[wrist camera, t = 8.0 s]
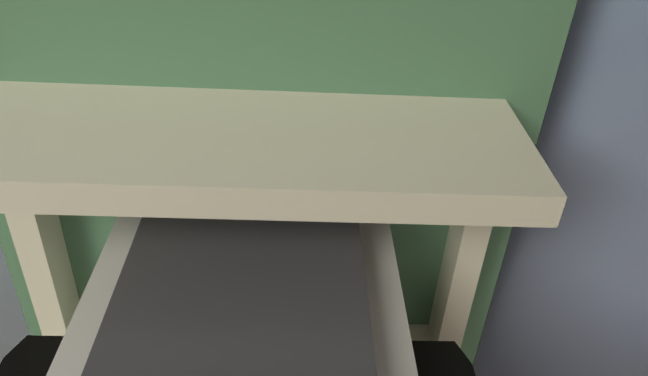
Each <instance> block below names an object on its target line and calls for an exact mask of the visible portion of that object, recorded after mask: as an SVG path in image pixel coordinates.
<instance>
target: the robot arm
mask: <svg viewBox="0 0 648 376" xmlns="http://www.w3.org/2000/svg"><path fill="white" fill-rule="evenodd" d="M141 218H142V217H117V219H116V221H115V223H114V225H113V228H112V230H111V232H110V234H109V236H108V239H107V241H106V243H105V245H104V248H103V250H102V252H101V254H100V256H99V259H98V261H97V263H96V265H95V268H94V270H93V272H92V274H91V277H90V279H89V281H88V283H87V285H86V288H85V290H84V292H83V294H82V297H81V299H80V301H79V303H78V306H77V308H76V310H75V312H74V314H73V317H72V319H71V321H70V323H69V326H68V328H67V330H66V332H65V335H64V336H37V335H27V336H26V337H25V338H24V339H23V340H22V341H21V342H20V343H19V344H18V345H17V346H16V347H15V348H13V349H12V350H11V351H10V352H9V353H8V354H7V355H6V356H5V357H4V358H3V360H2V362H1V364H0V376H81V374H82V372H83V369H84V366H85V364H86V361H87V359H88V356H89V353H90V351H91V348H92V346H93V343H94V340H95V338H96V335H97V333H98V330H99V327H100V325H101V322H102V320H103V317H104V314H105V312H106V309H107V307H108V304H109V301H110V299H111V296H112V294H113V291H114V288H115V286H116V283H117V281H118V278H119V275H120V273H121V270H122V268H123V265H124V262H125V260H126V257H127V255H128V252H129V249H130V247H131V244H132V242H133V239H134V236H135V234H136V231H137V229H138V226H139V223H140V221H141ZM359 225H360V234H361V242H362V251H363V260H364V268H365V277H366V285H367V294H368V302H369V311H370V319H371V328H372V336H373V345H374V354H375V362H376V371H377V376H475V373H474V369H473V366H472V363H471V362H470V360H469V359H468V358H467V357H466V355H465V354H464V353H463V351H462V350H461V349H460V348H459V346H458V345H457V344H456V342H455V341H412V340H411V335H410V330H409V324H408V319H407V314H406V308H405V303H404V298H403V293H402V287H401V282H400V277H399V271H398V266H397V261H396V255H395V250H394V245H393V239H392V234H391V229H390V224H386V223H359Z"/></svg>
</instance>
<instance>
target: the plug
mask: <svg viewBox="0 0 648 376" xmlns="http://www.w3.org/2000/svg"><path fill="white" fill-rule="evenodd" d="M81 376H377V371H376V362H375V354H374V345H373V336H372V328H371V319H370V311H369V302H368V294H367V285H366V277H365V268H364V260H363V251H362V242H361V234H360V225H359V223H347V222H309V221H270V220H232V219H193V218H155V217H142V218H141V221H140V223H139V226H138V229H137V231H136V234H135V236H134V239H133V242H132V244H131V247H130V249H129V252H128V255H127V257H126V260H125V262H124V265H123V268H122V270H121V273H120V275H119V278H118V281H117V283H116V286H115V288H114V291H113V294H112V296H111V299H110V301H109V304H108V307H107V309H106V312H105V314H104V317H103V320H102V322H101V325H100V327H99V330H98V333H97V335H96V338H95V340H94V343H93V346H92V348H91V351H90V353H89V356H88V359H87V361H86V364H85V366H84V369H83V372H82V374H81Z"/></svg>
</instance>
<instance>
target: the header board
mask: <svg viewBox="0 0 648 376" xmlns="http://www.w3.org/2000/svg"><path fill="white" fill-rule="evenodd" d="M577 1H578V0H0V243H1V246H2V249H3V252H4V256H5V259H6V262H7V265H8V268H9V271H10V274H11V277H12V280H13V283H14V286H15V289H16V292H17V295H18V298H19V301H20V305H21V308H22V311H23V314H24V317H25V320H26V323H27V326H28V329H29V332H30V335H37V336H64V335H65V332H66V330H67V328H68V326H69V323H70V321H71V319H72V317H73V314H74V312H75V310H76V308H77V306H78V303H79V301H80V299H81V297H82V294H83V292H84V290H85V288H86V285H87V283H88V281H89V279H90V277H91V274H92V272H93V270H94V268H95V265H96V263H97V261H98V259H99V256H100V254H101V252H102V250H103V248H104V245H105V243H106V241H107V239H108V236H109V234H110V232H111V230H112V228H113V225H114V223H115V221H116V219H117V217H155V218H193V219H232V220H270V221H309V222H347V223H386V224H390V229H391V234H392V239H393V245H394V250H395V255H396V261H397V266H398V271H399V277H400V282H401V287H402V293H403V298H404V303H405V308H406V314H407V319H408V324H409V330H410V335H411V340H412V341H455V342H456V344H457V345H458V346H459V348H460V349H461V350H462V351H463V353H464V354H465V355H466V357H467V358H468V359H469V360H470V362H471V363H472V366H473V362H474V359H475V355H476V352H477V349H478V345H479V342H480V338H481V335H482V331H483V328H484V324H485V321H486V317H487V314H488V310H489V307H490V303H491V300H492V296H493V293H494V289H495V286H496V282H497V279H498V275H499V272H500V269H501V265H502V262H503V258H504V255H505V251H506V248H507V244H508V241H509V237H510V234H511V230H512V227H540V228H557V227H558V224H559V221H560V218H561V215H562V212H563V209H564V206H565V203H566V201H567V198H568V197H567V196H566V194H565V193H564V191H563V190H562V188H561V186H560V185H559V183H558V182H557V180H556V178H555V177H554V175H553V174H552V172H551V170H550V169H549V167H548V166H547V164H546V163H545V161H544V159H543V158H542V156H541V155H540V153H539V151H538V150H537V148H536V143H537V140H538V136H539V133H540V129H541V126H542V122H543V119H544V116H545V112H546V109H547V105H548V102H549V98H550V95H551V91H552V88H553V84H554V81H555V77H556V74H557V70H558V67H559V63H560V60H561V56H562V53H563V49H564V46H565V42H566V39H567V36H568V32H569V29H570V25H571V22H572V18H573V15H574V11H575V8H576V4H577Z"/></svg>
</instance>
